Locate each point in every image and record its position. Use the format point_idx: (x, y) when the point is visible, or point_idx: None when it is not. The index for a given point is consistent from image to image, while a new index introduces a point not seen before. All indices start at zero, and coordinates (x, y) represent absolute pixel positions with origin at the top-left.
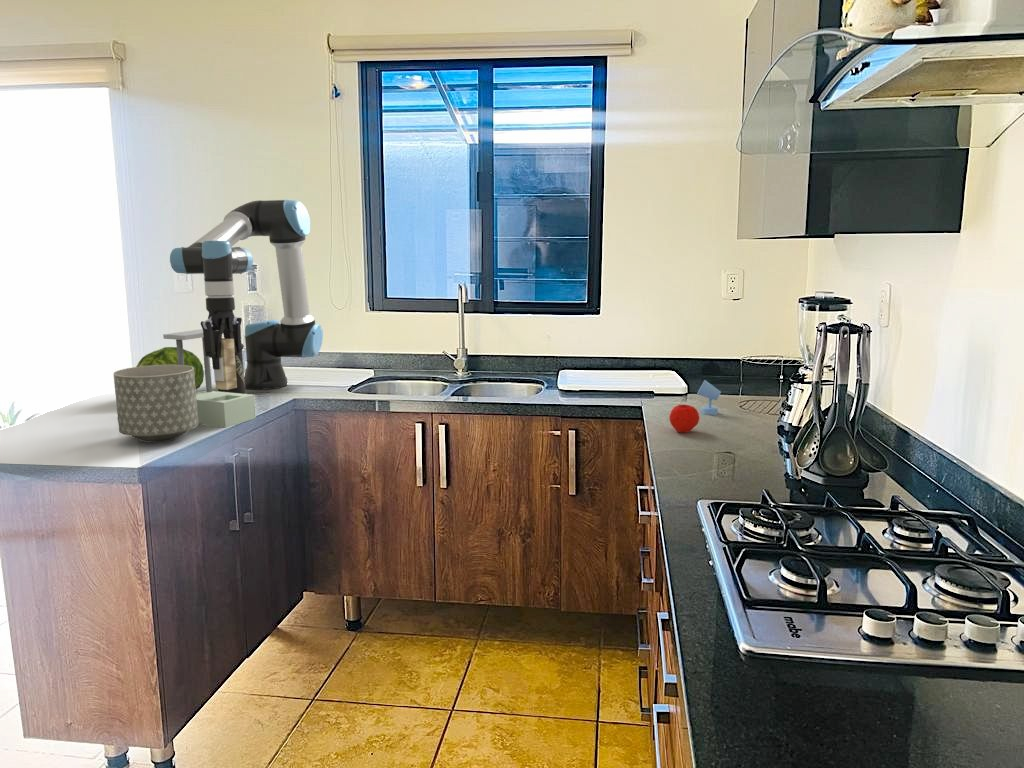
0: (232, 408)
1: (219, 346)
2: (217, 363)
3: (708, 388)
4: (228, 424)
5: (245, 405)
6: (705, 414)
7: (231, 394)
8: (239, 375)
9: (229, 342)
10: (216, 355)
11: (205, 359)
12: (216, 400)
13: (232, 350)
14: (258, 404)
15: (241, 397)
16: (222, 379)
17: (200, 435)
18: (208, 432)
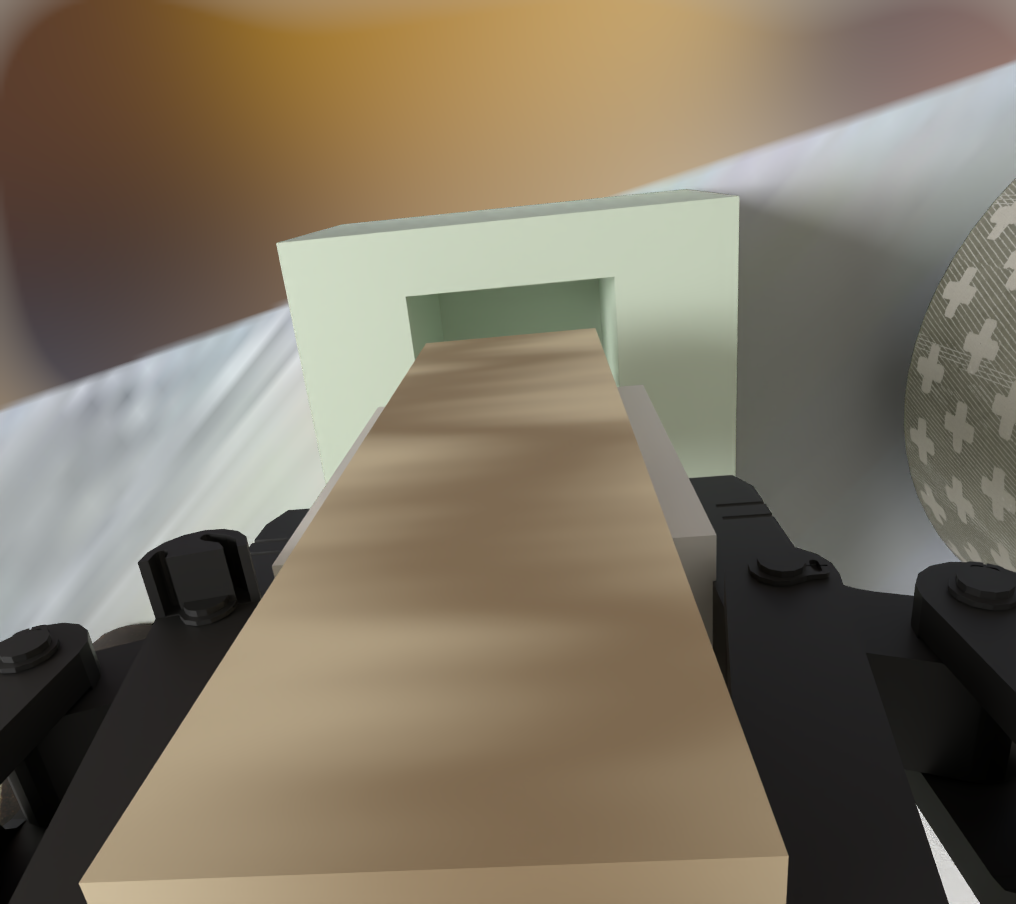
0: (609, 204)
1: (806, 751)
2: (741, 525)
3: None
4: (656, 192)
5: (432, 221)
6: None
7: None
8: (1, 805)
9: (395, 763)
10: (836, 598)
11: None
12: (679, 362)
13: (350, 578)
14: (37, 577)
15: (447, 252)
16: (643, 389)
17: (977, 147)
18: (871, 174)
